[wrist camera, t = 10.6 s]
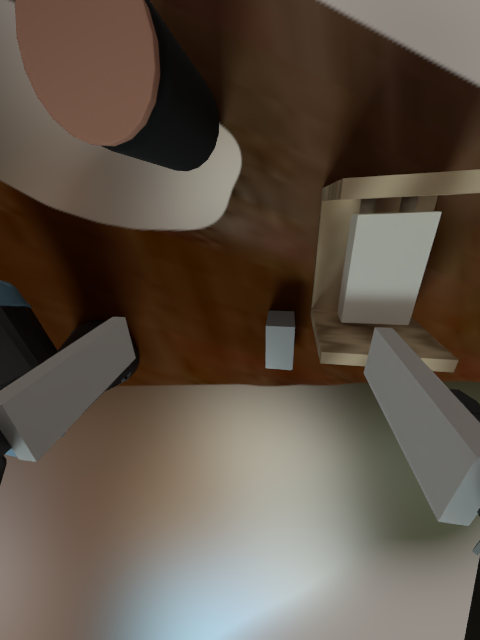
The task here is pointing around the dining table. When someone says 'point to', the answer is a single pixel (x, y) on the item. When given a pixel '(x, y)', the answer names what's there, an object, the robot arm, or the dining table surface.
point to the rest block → (280, 339)
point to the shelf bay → (335, 216)
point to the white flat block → (385, 265)
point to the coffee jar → (118, 79)
